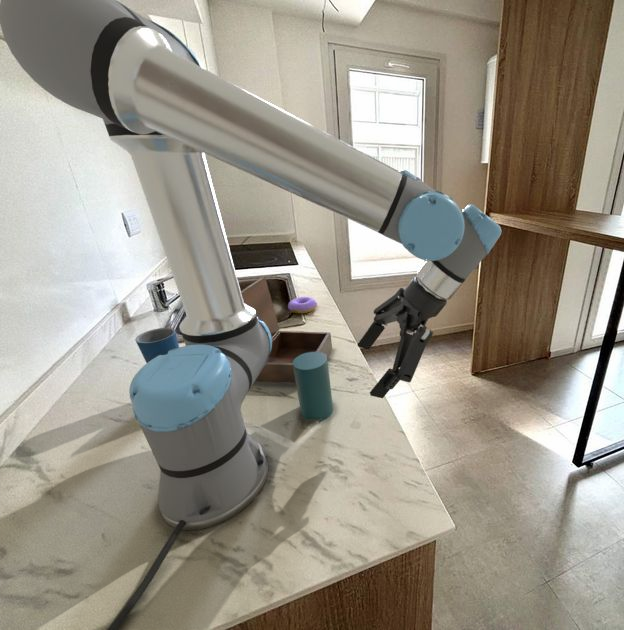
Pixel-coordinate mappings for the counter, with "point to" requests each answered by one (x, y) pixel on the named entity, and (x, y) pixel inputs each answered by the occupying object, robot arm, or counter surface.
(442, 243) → the robot arm
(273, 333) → the lid
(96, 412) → the counter surface
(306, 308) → the donut
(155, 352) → the cup
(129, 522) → the counter surface
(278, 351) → the chest
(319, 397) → the can
